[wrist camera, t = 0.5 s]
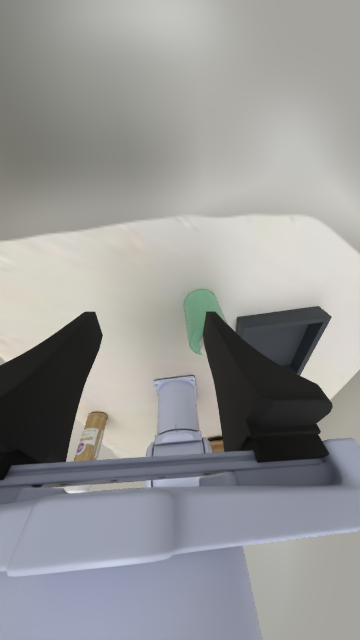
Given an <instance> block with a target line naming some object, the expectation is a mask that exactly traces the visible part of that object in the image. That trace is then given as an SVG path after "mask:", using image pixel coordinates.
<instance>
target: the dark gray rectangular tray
mask: <svg viewBox="0 0 360 640" xmlns="http://www.w3.org/2000/svg"><path fill="white" fill-rule="evenodd" d="M330 319H331V316H330V315H329V314H328V313H326V312H325V311H324V310H323V309H321V308H320V307H319V306H317V307H310V308H303V309H295V310H288V311H281V312H273V313H266V314H259V315H251V316H244V317H237V326H236V333H237V334H238V335H239V336H240V337H241V338H242V339H243V340H245V341H246V342H247V343H248V344H249V345H251V346H252V347H253V348H255V349H256V350H257V351H259V352H260V353H262V354H263V355H264V356H266V357H268V358H269V359H271V360H272V361H274V362H275V363H277V364H279V365H280V366H282V367H284V368H286V369H288V370H289V371H291V372H293V373H295V374H297V375H299V376H300V375H301V373H302V371H303V369H304V367H305V365H306V363H307V362H308V360H309V358H310V356H311V354H312V352H313V350H314V349H315V347H316V345H317V343H318V341H319V339H320V338H321V336H322V334H323V332H324V330H325V328H326V326H327V325H328V323H329V321H330Z"/></svg>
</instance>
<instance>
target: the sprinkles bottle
mask: <svg viewBox="0 0 360 640" xmlns="http://www.w3.org/2000/svg"><path fill="white" fill-rule="evenodd" d="M107 419H108V416H107V415H106V414H104V413H100V412H94V413H91V414H89V415H88V419H87V422H86V425H85V428H84V431H83V433H82V436H81V439H80V442H79V445H78V449H77V452H76V455H75V458H74V461H73V462H75V461H91V460H97V458H98V454H99V450H100V446H101V442H102V438H103V434H104V429H105V425H106V421H107ZM90 488H91V485H80V486H66V487H64V488H63V489H64V490H65V491H66V492H68V493H81V492H90Z"/></svg>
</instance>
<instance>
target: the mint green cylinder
mask: <svg viewBox="0 0 360 640" xmlns="http://www.w3.org/2000/svg"><path fill="white" fill-rule="evenodd" d="M184 311H185V318H186V325H187V332H188V339H189V345H190V348H191V349H192V350H193V351H194V352H195V353H197V354H200V355H204V356H207V354H206V351H205V347H204V341H203V328H204V322H205V316H206V311H215V312H216V313H217V314H218V315H219V316H220V317H221V318H222V319H223V320H224V321H225V322H226V320H225V318H224V315H223V313H222V311H221V308H220V306H219V304H218V301H217V299H216V297H215V295H214V294H213V293H212V292H210V291H208V290H204V289H200V290H196V291H193V292H191V293H190V294H189V295H188V296H187V297H186V299H185V301H184ZM226 323H227V322H226Z"/></svg>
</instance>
